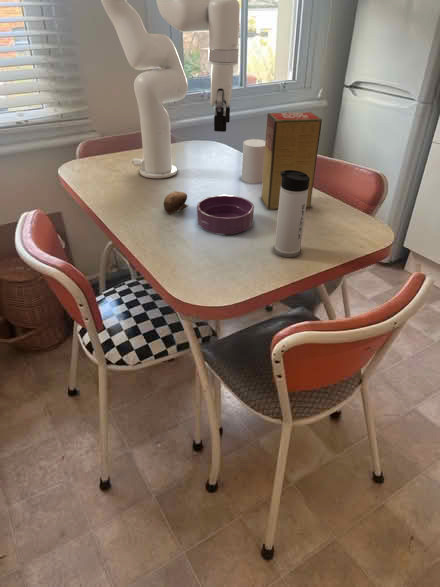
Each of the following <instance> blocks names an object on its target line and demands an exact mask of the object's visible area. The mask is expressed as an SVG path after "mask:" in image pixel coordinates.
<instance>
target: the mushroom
mask: <svg viewBox="0 0 440 587" xmlns="http://www.w3.org/2000/svg"><path fill="white" fill-rule="evenodd" d="M187 200H188V194H187V193H186V192H183V191H178V190H177V191H176V190H175V191H171V192H170V193H168V194H167V195H166V196H165V198H164V200H163V209H164V211H165V212H166V214H168V215H172V214H175V213H177V212H182V211H184V210H186V208H188V207H189V204H186V202H187Z"/></svg>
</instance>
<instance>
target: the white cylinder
mask: <svg viewBox="0 0 440 587" xmlns="http://www.w3.org/2000/svg"><path fill="white" fill-rule="evenodd" d="M265 142H266V140H264V139H257V138H251V139H246V140H244V141H243V144H242V162H241V163H242V165H241V180H242V181H243V182H245V183H248V184H262V183H263V169H264V155H265Z"/></svg>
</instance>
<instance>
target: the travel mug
mask: <svg viewBox="0 0 440 587" xmlns="http://www.w3.org/2000/svg"><path fill="white" fill-rule="evenodd" d="M280 175H281V177H282V180H281V189H280V198H279V208H278V209H277V219H276V228H275V239H274V248H273V249H274V253H275V254H276V255H278V256H279V257H283V258H295V257H298V256H299V255H300V254H301V247H302V239H303V232H304V227H305V226H304V224H305V217H306V212H307V211H306V210H307V208H306V204H307V196H308V189H309V180H310V178H309V177H308V176H307V174H305V173H303V172H300V171H295V170H285V171H281V173H280Z"/></svg>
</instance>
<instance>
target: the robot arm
mask: <svg viewBox="0 0 440 587" xmlns="http://www.w3.org/2000/svg"><path fill="white" fill-rule="evenodd" d="M100 2H101V5H102V7H103V9H104V11H105V13H106V15H107V16H108V18H109V20H110V21H111V24H112V26H113V27H114V29H115V31H116V35H117V37H118V39H119V42H120V45H121V47H122V50H123V53H124V55H125V57H126V59H127V62H128V64H129V66H130V67H131V68H132V69H134V70H137V71H143V72H141V73H139V74H138V75H137V76H136V77H135V79H134V81H133V89H134V94H135V98H136V101H137V103H136V104H137V108H138V114H139V123H140V134H141V146H142V158H132V159H131V163H132V164H131V165H132V166H133V167H140V168H139V174H140V175H141V176H143V177H145V178H149V179H166V178H170V177H173V176H175V175H176V174H177V172H178V169H177V167H176V166H175V165H173V158H172V135H171V120H170V119H171V118H170V116H169V113H168V111H167V110H166V109H165V107H164V104H168V103H173V102H178V101H181V100H183V99H184V98H185V97H186V96H187V95H188V91H189V85H188V84H189V83H188V79H187V76H186V73H185V70H184V68H183V65H182V62H181V59H180V56H179V54H178V51H177V48H176V45H175V44H174V42H173V41H172V39H171V38H170V37H169V36H167V35H166V34H164V33H150V32H148V31H147V29H146V28H145V25H144V22H143V19H142V17H141V15H140V14H139V13H138V11H137V10H136V9H135V8H134V7H133V6H132V5H131V4H130V3H129V2H128V1H127V0H100ZM155 2H156V6H157V9H158V12H159V14H160V16H161V18H162V19H163V20H164V21H166V22H167V23H168V25H170V26H171V27H172V28H174V29H175V30H177V31H179V32H181V33H197V32H198V33H199V32H200V33H201V32H202V33H204V32H208V45H207V46H208V50H207V52H208V64H210V65H211V74H210V103H209V104H210V106H211V107H214V106H215V107H214V115H213V131H214V132H217V133H218V132H219V133H222V132H223V133H226V132H227V123H230V122H231V121H230V120H231V119H230V118H231V107H230V104H231V102H232V96H233V84H234V83H233V82H234V66H235V65H238V64H239V39H240V36H239V35H240V9H241V8H240V3H239V1H238V0H155ZM144 70H145V71H144ZM146 70H147V71H146Z"/></svg>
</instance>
